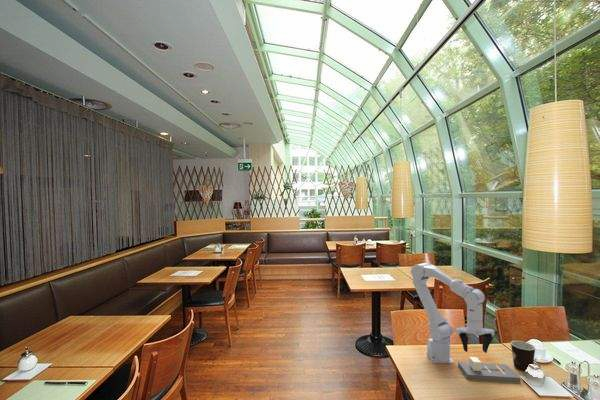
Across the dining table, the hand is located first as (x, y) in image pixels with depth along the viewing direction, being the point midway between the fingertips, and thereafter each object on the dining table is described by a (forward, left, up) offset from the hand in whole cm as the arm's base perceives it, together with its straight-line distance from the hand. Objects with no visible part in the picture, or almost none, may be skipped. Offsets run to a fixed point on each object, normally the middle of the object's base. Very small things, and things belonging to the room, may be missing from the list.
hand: (475, 351), depth 128 cm
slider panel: (+5, 0, -9) cm, 11 cm away
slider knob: (0, 0, -7) cm, 7 cm away
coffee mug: (+23, +8, -10) cm, 26 cm away
